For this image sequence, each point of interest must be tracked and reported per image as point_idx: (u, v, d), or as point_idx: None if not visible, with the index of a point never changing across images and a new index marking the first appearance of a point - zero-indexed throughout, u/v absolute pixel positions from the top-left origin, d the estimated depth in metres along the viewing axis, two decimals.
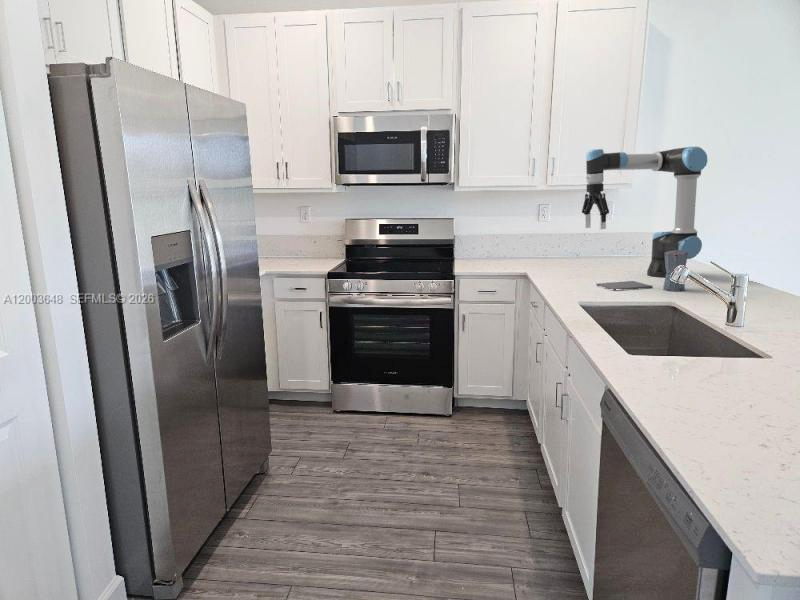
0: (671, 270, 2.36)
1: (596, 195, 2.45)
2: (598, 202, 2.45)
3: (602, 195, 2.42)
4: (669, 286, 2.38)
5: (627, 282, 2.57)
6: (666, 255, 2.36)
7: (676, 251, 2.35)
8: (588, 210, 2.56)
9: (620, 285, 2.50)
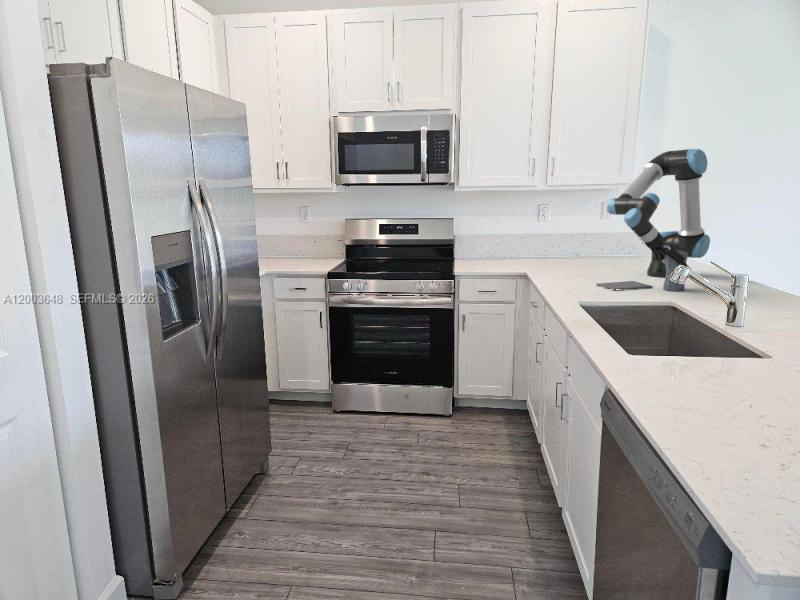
0: (671, 270, 2.36)
1: (661, 247, 2.32)
2: (667, 252, 2.33)
3: (668, 248, 2.29)
4: (669, 286, 2.38)
5: (627, 282, 2.57)
6: (666, 255, 2.36)
7: None
8: (662, 255, 2.42)
9: (620, 285, 2.50)
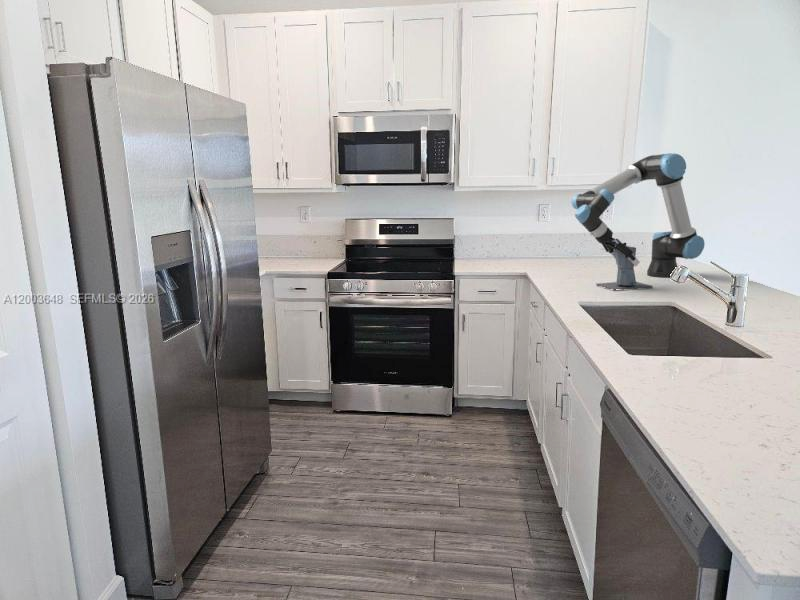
0: (621, 265, 2.45)
1: (610, 242, 2.43)
2: (617, 246, 2.43)
3: (616, 242, 2.39)
4: (621, 281, 2.45)
5: None
6: (616, 251, 2.46)
7: None
8: (611, 249, 2.53)
9: (620, 285, 2.50)
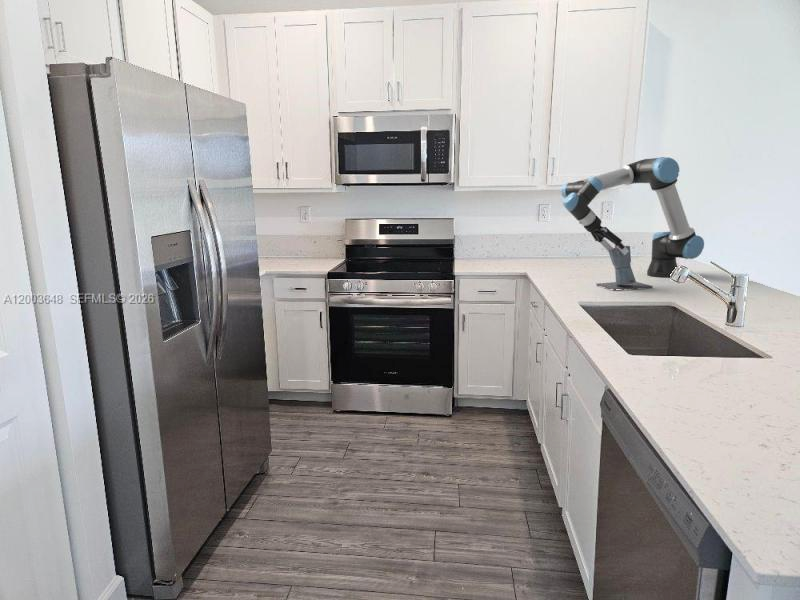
0: (618, 265, 2.44)
1: (599, 231, 2.41)
2: (605, 235, 2.40)
3: (605, 230, 2.37)
4: (620, 281, 2.44)
5: None
6: (610, 251, 2.46)
7: None
8: (600, 238, 2.51)
9: (620, 285, 2.50)
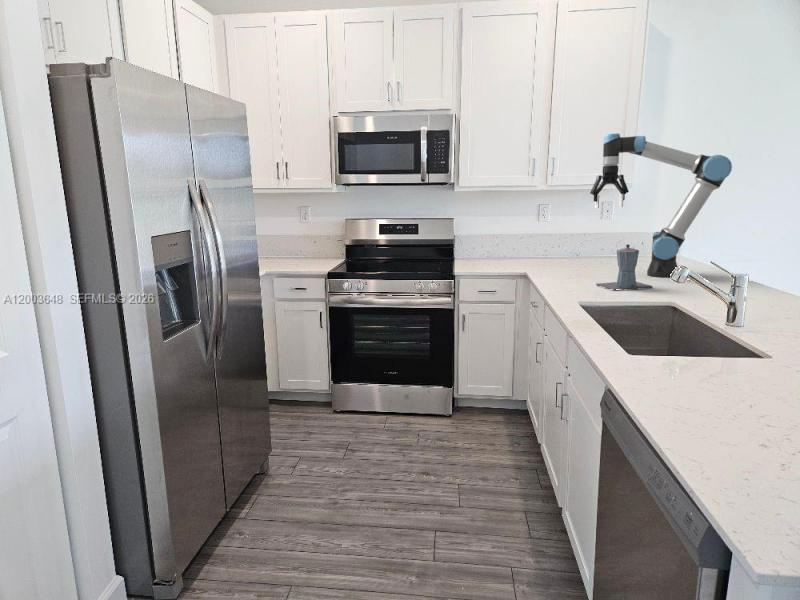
0: (623, 267, 2.42)
1: None
2: (601, 183, 2.69)
3: (597, 177, 2.67)
4: (621, 283, 2.44)
5: None
6: (618, 252, 2.42)
7: (627, 249, 2.41)
8: (619, 190, 2.71)
9: None
